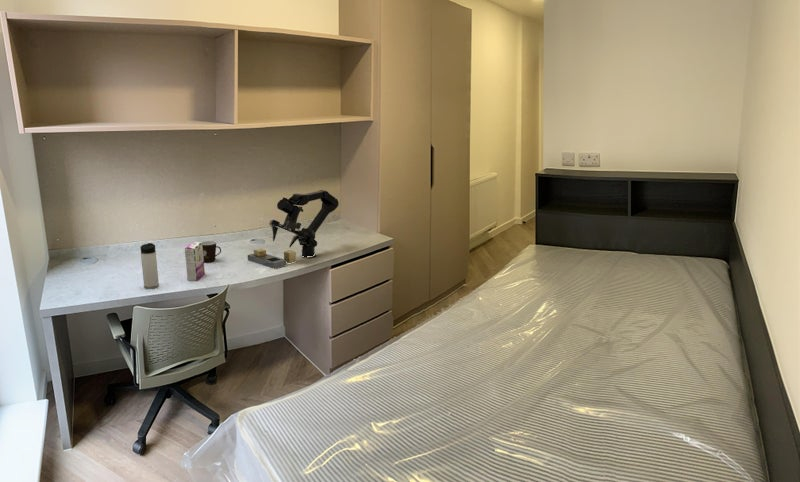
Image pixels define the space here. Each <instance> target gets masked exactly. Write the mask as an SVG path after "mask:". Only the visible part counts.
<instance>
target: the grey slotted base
mask: <svg viewBox="0 0 800 482" xmlns="http://www.w3.org/2000/svg"><path fill="white" fill-rule="evenodd" d="M247 261H249V262H252V263H255V264H258V265H260V266H263V267H267V268H269V269H273V268H274V270H276V269H279V268H278V267H280V268H282V267H281V266H283V267H286V266H287V263H286V260H284V258H281V257H277V256H274V255H271V254H268V253H266V256H263V257H256V256H254V252H253V253H250V254H247ZM285 265H286V266H285ZM275 268H276V269H275Z"/></svg>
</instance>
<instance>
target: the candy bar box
mask: <svg viewBox="0 0 800 482" xmlns="http://www.w3.org/2000/svg"><path fill="white" fill-rule="evenodd" d="M202 242H203V241H192V242H191V243H190V244H189V245H186V246H185V248H184V254H185V265H186V275H187V276H186V277H187V281H189V282H193V281H195V282H196V281H199V279H201V278H202V277H203V276H204V275H205V273H206V271H205V270H206V269H205V263H204V258H203V246H202Z"/></svg>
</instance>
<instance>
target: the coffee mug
mask: <svg viewBox="0 0 800 482" xmlns="http://www.w3.org/2000/svg"><path fill="white" fill-rule="evenodd" d="M201 242H202V246H203V258H204V264H211V263H215V262H216V257H217V256H219V255H220V254H221V253H222V248H221V247H220V246H217V241H215V240H203V241H201ZM217 248H218V249H219V252H218V253H217Z"/></svg>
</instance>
